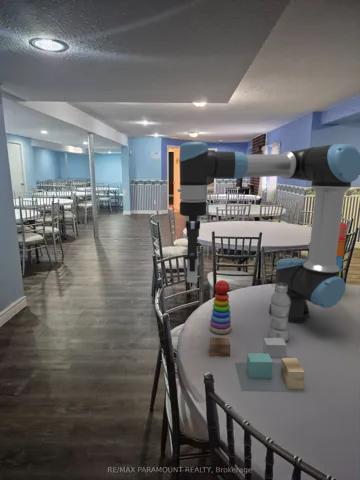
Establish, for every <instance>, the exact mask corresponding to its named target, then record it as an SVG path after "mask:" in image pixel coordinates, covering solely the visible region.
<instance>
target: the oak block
mask: <svg viewBox="0 0 360 480" xmlns="http://www.w3.org/2000/svg"><path fill="white" fill-rule="evenodd" d="M280 363H281V376H282V378H283V380H284V383H285V385H286V387H287V389H303V390H304V385H305V384H304V383H305V370H304V368H303V367H302V365H301V364H300V362H299V360H298V358H297V357H281V361H280Z"/></svg>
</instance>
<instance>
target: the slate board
mask: <svg viewBox="0 0 360 480" xmlns="http://www.w3.org/2000/svg"><path fill="white" fill-rule="evenodd" d="M234 365H235V369H236V374H237V378H238V382H239V385H240V389H241V392H278V393H279V392H281V393H282V392H283V393H284V392H286V393H289V392H290V393H291V392H293V393H304V392H305V390H304V388H303V389H287V387H286V385H285V383H284V380H283V378H282V376H281V362H273V365H272V379H269V378H249V375H248V372H247V362H234Z"/></svg>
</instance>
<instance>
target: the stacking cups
mask: <svg viewBox="0 0 360 480" xmlns="http://www.w3.org/2000/svg"><path fill="white" fill-rule="evenodd" d="M347 229H348V225H347V223H344V222H341V224H340V232H339V239H338V247H337V255H336V262H335V264H336V265H337V266H338V267H339V269H340V271H339V277H341V275H342V271H343V270H344V269H343V267H342V266H343V260H344V256H345V252H344V250H345V244H346V241H347V238H346V235H347Z"/></svg>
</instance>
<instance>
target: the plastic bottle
mask: <svg viewBox="0 0 360 480" xmlns="http://www.w3.org/2000/svg"><path fill="white" fill-rule="evenodd" d="M287 291H288V285H287V284H284V283H277V284H276V292H275V291H274V292H273V294H272V295H271V297H270V304H271V309H272V315H271V320H270V325H269V330H268V335H269V336H268V338H283V340H284V341H285V343H286V342H287V341H288V340H289V338H290V331H289V322H288V315H289V310H290V305H291V299H290V297H289V295H288V293H287Z"/></svg>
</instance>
